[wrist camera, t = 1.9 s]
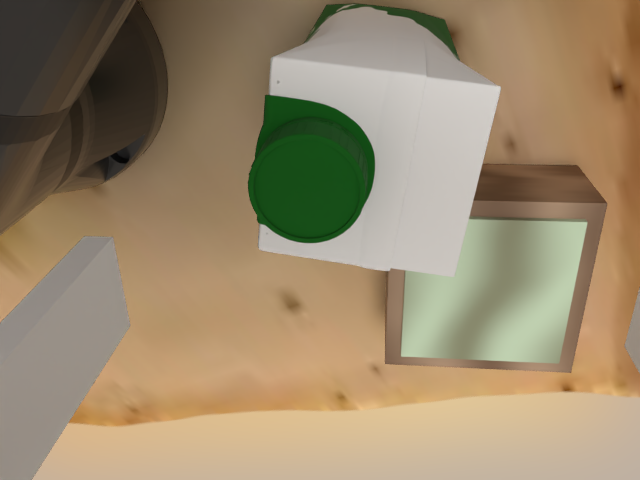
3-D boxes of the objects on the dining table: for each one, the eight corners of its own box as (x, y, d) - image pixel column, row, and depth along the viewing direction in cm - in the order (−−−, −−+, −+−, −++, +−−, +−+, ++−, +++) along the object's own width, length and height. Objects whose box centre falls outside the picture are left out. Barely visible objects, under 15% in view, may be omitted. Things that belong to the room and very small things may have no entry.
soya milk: (313, -14, 36) (242, 46, 18) (466, 5, 36) (544, 86, 18) (299, 129, 40) (231, 291, 22) (436, 147, 40) (476, 326, 22)
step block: (385, 313, 46) (385, 367, 40) (390, 162, 41) (391, 201, 35) (549, 319, 45) (572, 376, 39) (577, 165, 39) (609, 206, 34)
